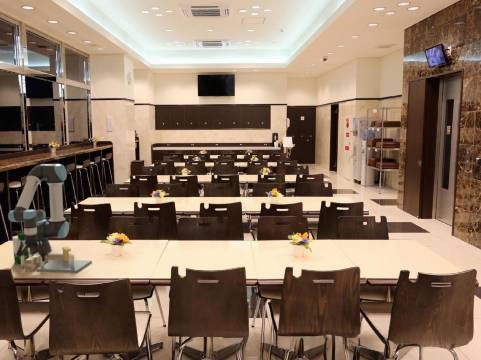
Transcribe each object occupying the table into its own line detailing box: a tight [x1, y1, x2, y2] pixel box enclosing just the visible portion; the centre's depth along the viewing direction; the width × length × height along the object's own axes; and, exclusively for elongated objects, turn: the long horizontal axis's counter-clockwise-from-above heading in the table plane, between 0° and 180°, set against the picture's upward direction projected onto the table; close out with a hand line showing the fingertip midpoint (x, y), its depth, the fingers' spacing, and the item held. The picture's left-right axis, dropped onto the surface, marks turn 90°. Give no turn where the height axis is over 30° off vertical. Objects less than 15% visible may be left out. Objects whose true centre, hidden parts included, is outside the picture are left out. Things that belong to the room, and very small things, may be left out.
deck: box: [36, 246, 93, 274], centre depth 299 cm, size 21×27×11 cm
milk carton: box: [12, 233, 30, 265], centre depth 308 cm, size 9×9×20 cm
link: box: [23, 253, 49, 272], centre depth 300 cm, size 18×6×7 cm, turn 173°
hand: (32, 265), depth 296 cm, fingers open, 13 cm apart
